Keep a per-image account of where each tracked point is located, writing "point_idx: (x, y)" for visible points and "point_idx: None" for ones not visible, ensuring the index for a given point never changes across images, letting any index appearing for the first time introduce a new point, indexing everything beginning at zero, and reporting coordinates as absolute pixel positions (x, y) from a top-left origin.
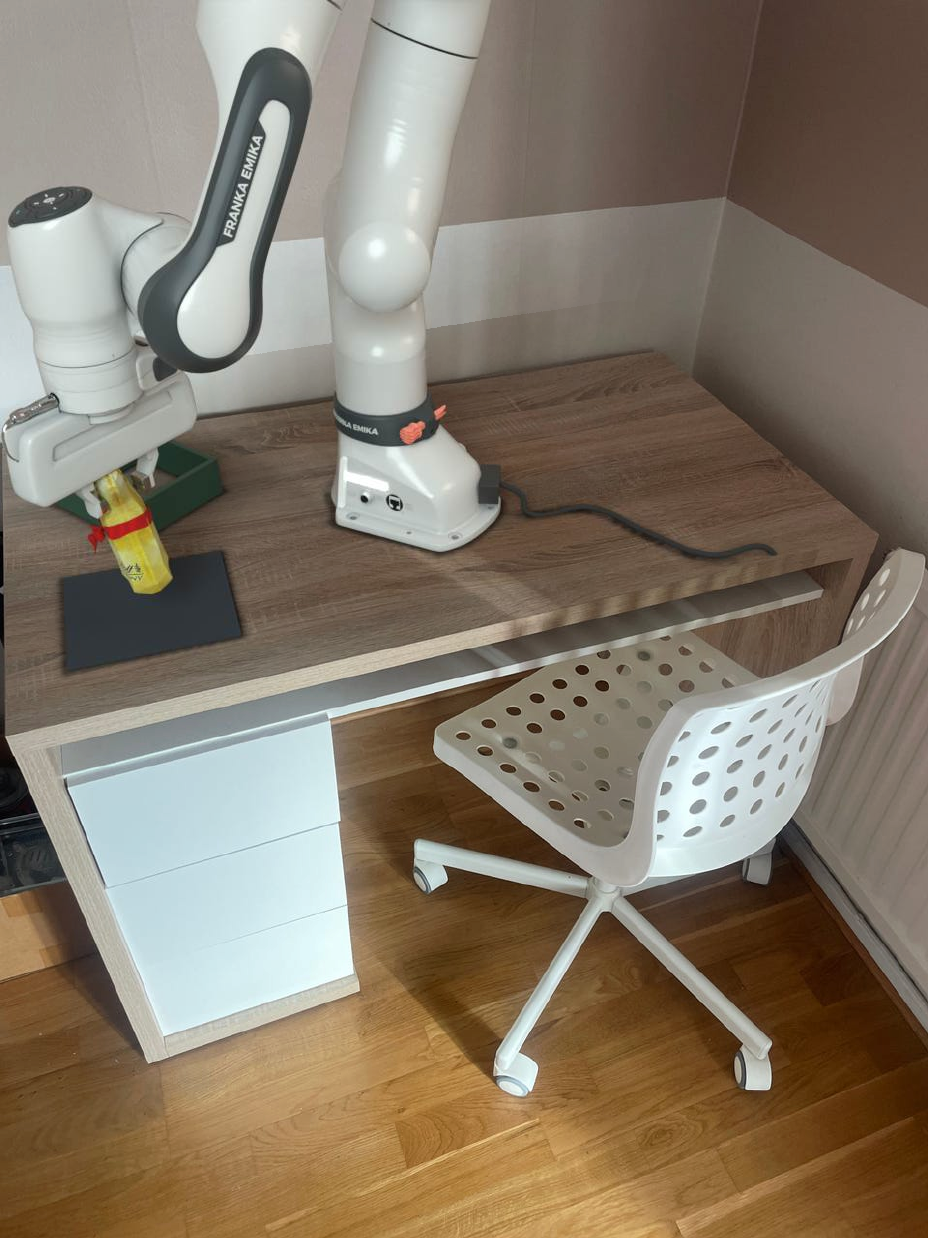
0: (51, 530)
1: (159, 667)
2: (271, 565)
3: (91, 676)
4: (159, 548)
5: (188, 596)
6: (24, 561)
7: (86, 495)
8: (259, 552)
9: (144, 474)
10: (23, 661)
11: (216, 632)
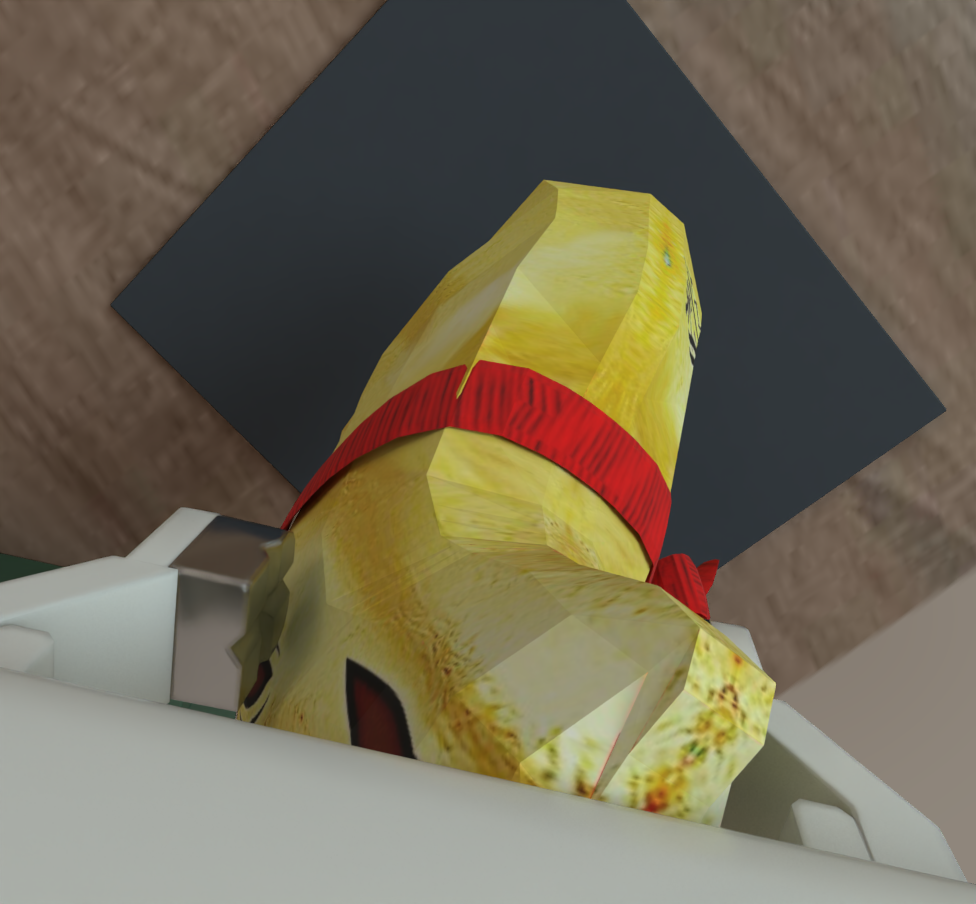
0: None
1: (816, 92)
2: (63, 51)
3: (942, 311)
4: (513, 266)
5: (408, 245)
6: None
7: (896, 811)
8: (26, 157)
9: (180, 605)
10: (933, 573)
11: None
